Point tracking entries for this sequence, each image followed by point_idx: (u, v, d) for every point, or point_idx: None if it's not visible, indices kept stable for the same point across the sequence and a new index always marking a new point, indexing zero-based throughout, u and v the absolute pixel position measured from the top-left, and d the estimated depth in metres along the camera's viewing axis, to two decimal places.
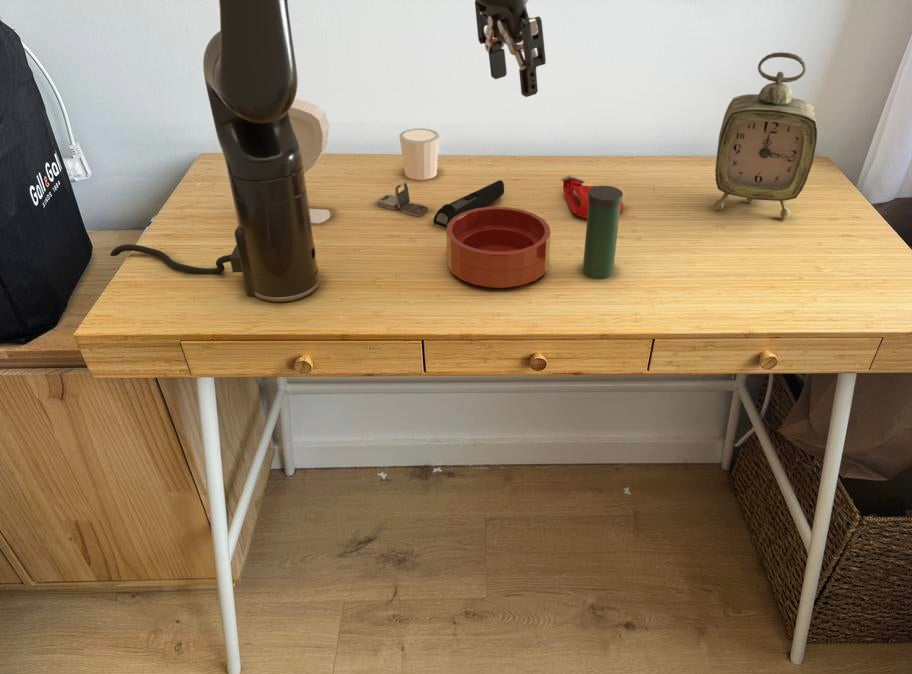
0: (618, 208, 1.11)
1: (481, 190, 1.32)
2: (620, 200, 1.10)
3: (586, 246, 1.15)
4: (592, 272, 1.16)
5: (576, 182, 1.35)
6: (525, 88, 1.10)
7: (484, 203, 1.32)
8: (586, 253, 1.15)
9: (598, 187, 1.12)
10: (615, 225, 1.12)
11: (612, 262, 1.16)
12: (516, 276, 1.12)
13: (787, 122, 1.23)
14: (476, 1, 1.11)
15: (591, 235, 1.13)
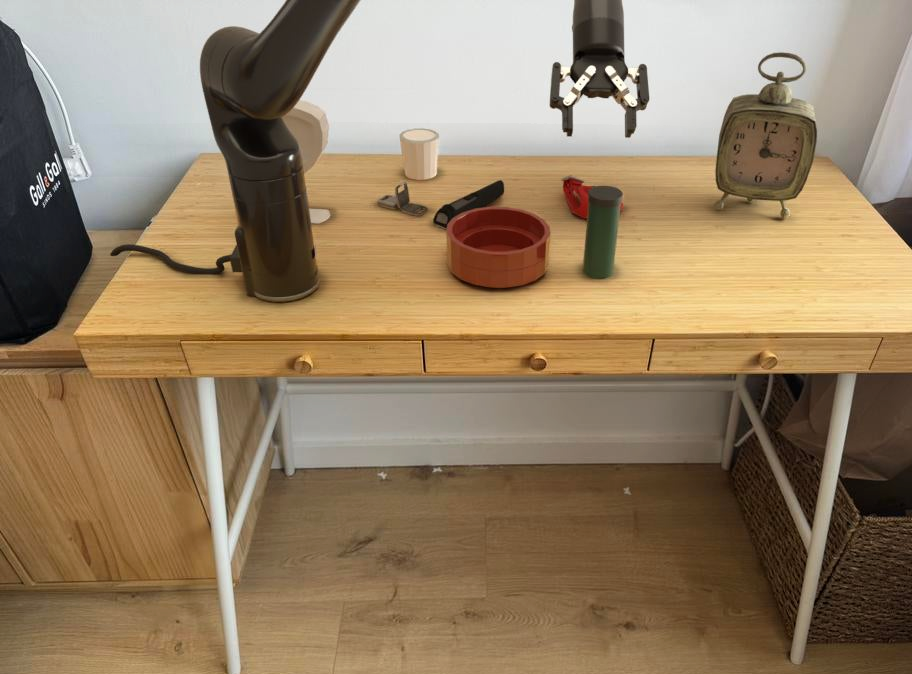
0: (618, 208, 1.11)
1: (481, 190, 1.32)
2: (620, 200, 1.10)
3: (586, 246, 1.15)
4: (592, 272, 1.16)
5: (576, 182, 1.35)
6: (632, 125, 1.17)
7: (484, 203, 1.32)
8: (586, 253, 1.15)
9: (598, 187, 1.12)
10: (615, 225, 1.12)
11: (612, 262, 1.16)
12: (516, 276, 1.12)
13: (787, 122, 1.23)
14: (556, 63, 1.17)
15: (591, 235, 1.13)
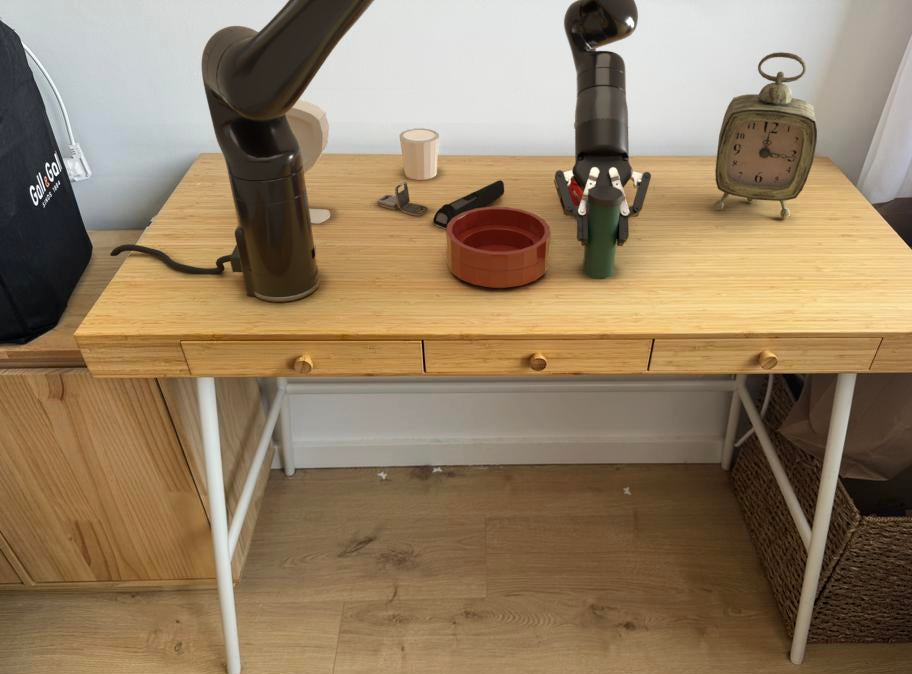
0: (618, 208, 1.11)
1: (481, 190, 1.32)
2: (620, 200, 1.10)
3: (586, 246, 1.15)
4: (592, 272, 1.16)
5: None
6: (624, 234, 1.13)
7: (484, 203, 1.32)
8: (586, 253, 1.15)
9: (597, 187, 1.12)
10: (615, 225, 1.12)
11: (612, 262, 1.16)
12: (516, 276, 1.12)
13: (787, 122, 1.23)
14: (558, 172, 1.13)
15: (591, 235, 1.13)
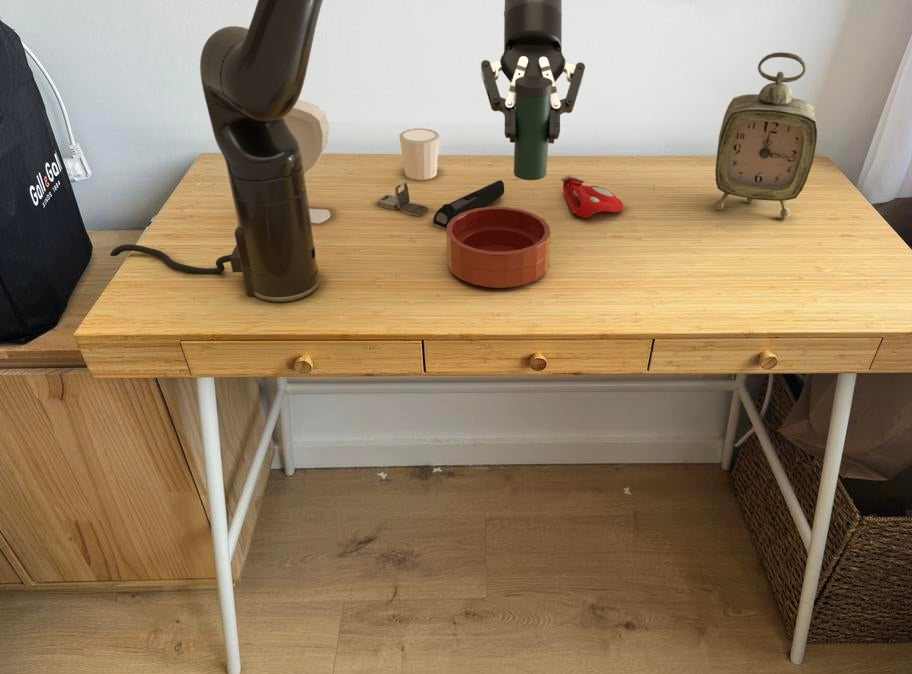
0: (547, 98, 1.02)
1: (481, 190, 1.32)
2: (549, 89, 1.01)
3: (515, 144, 1.06)
4: (522, 173, 1.07)
5: (576, 182, 1.35)
6: (555, 129, 1.04)
7: (484, 203, 1.32)
8: (515, 152, 1.07)
9: (526, 76, 1.03)
10: (544, 118, 1.03)
11: (544, 162, 1.07)
12: (516, 276, 1.12)
13: (787, 122, 1.23)
14: (484, 61, 1.05)
15: (519, 130, 1.04)
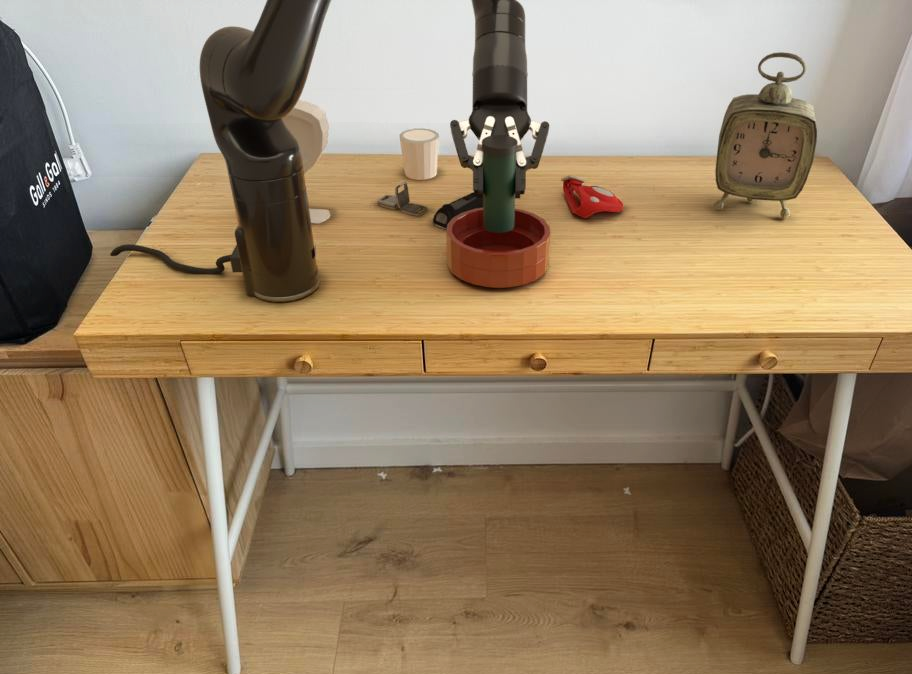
0: (513, 157, 1.07)
1: None
2: (514, 149, 1.06)
3: (484, 198, 1.11)
4: (491, 226, 1.12)
5: (576, 182, 1.35)
6: (520, 186, 1.09)
7: None
8: (484, 206, 1.12)
9: (493, 136, 1.08)
10: (510, 175, 1.08)
11: (511, 215, 1.12)
12: (516, 276, 1.12)
13: (787, 122, 1.23)
14: (453, 121, 1.10)
15: (487, 187, 1.09)
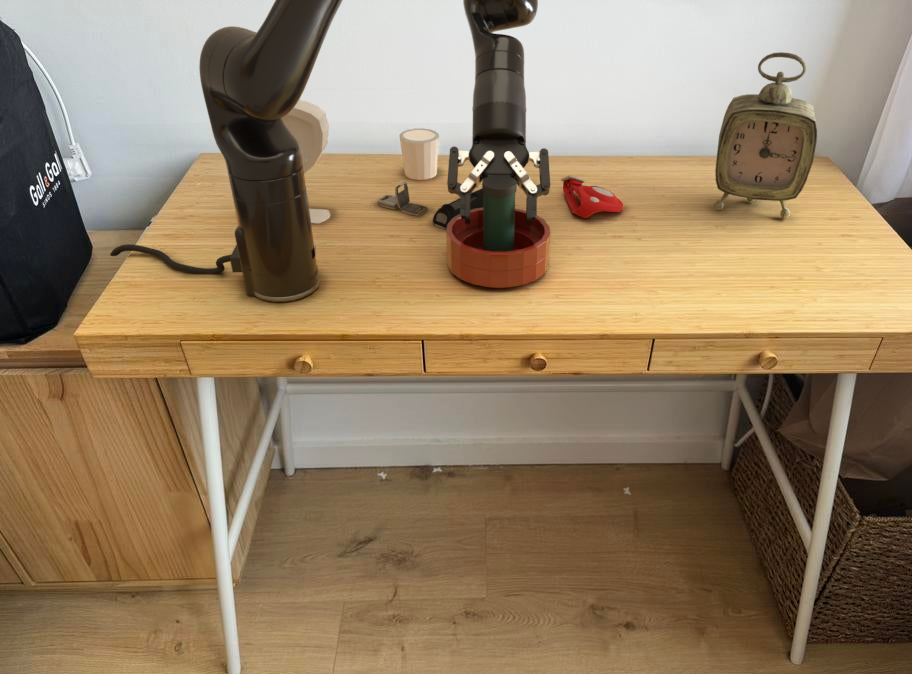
0: (512, 197, 1.11)
1: (481, 190, 1.32)
2: (514, 189, 1.10)
3: (484, 236, 1.15)
4: None
5: (576, 182, 1.35)
6: (532, 212, 1.12)
7: None
8: (484, 243, 1.15)
9: (493, 176, 1.12)
10: (509, 214, 1.12)
11: None
12: (516, 276, 1.12)
13: (787, 122, 1.23)
14: (453, 148, 1.13)
15: (487, 225, 1.13)
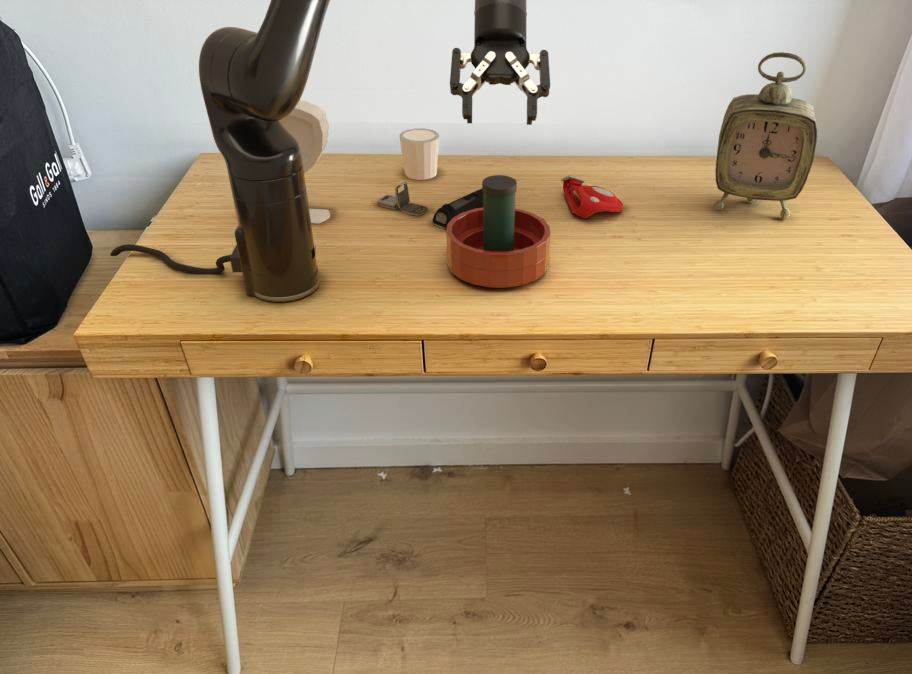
0: (512, 197, 1.11)
1: (481, 190, 1.32)
2: (514, 189, 1.10)
3: (484, 236, 1.15)
4: None
5: (576, 182, 1.35)
6: (532, 111, 1.15)
7: None
8: (484, 243, 1.15)
9: (493, 176, 1.12)
10: (509, 214, 1.12)
11: None
12: (516, 276, 1.12)
13: (787, 122, 1.23)
14: (456, 49, 1.16)
15: (487, 225, 1.13)
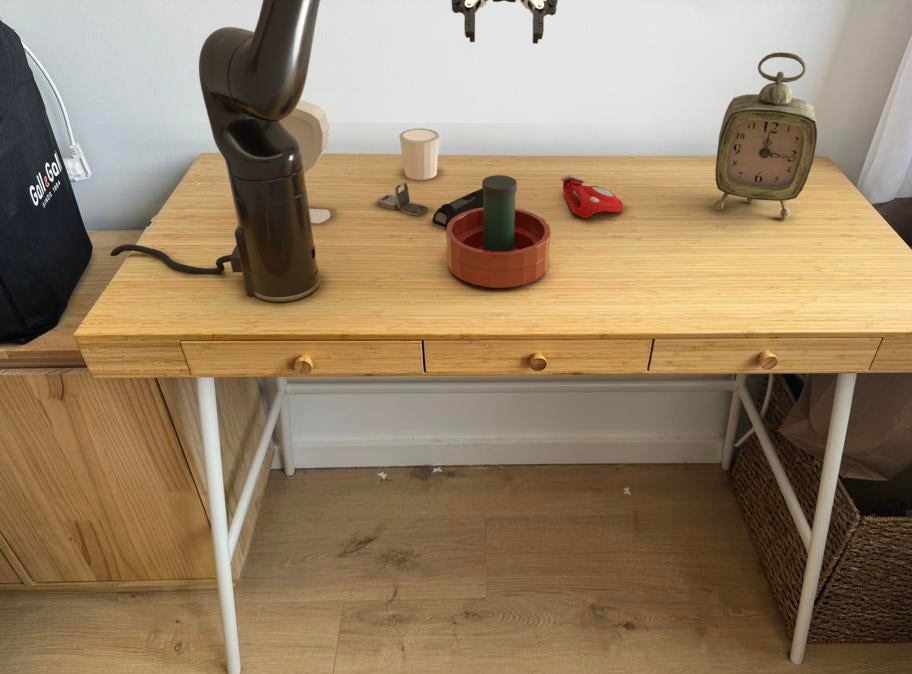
0: (512, 197, 1.11)
1: (481, 190, 1.32)
2: (514, 189, 1.10)
3: (484, 236, 1.15)
4: None
5: (576, 182, 1.35)
6: (538, 28, 1.09)
7: None
8: (484, 243, 1.15)
9: (493, 176, 1.12)
10: (509, 214, 1.12)
11: None
12: (516, 276, 1.12)
13: (787, 122, 1.23)
14: None
15: (487, 225, 1.13)
